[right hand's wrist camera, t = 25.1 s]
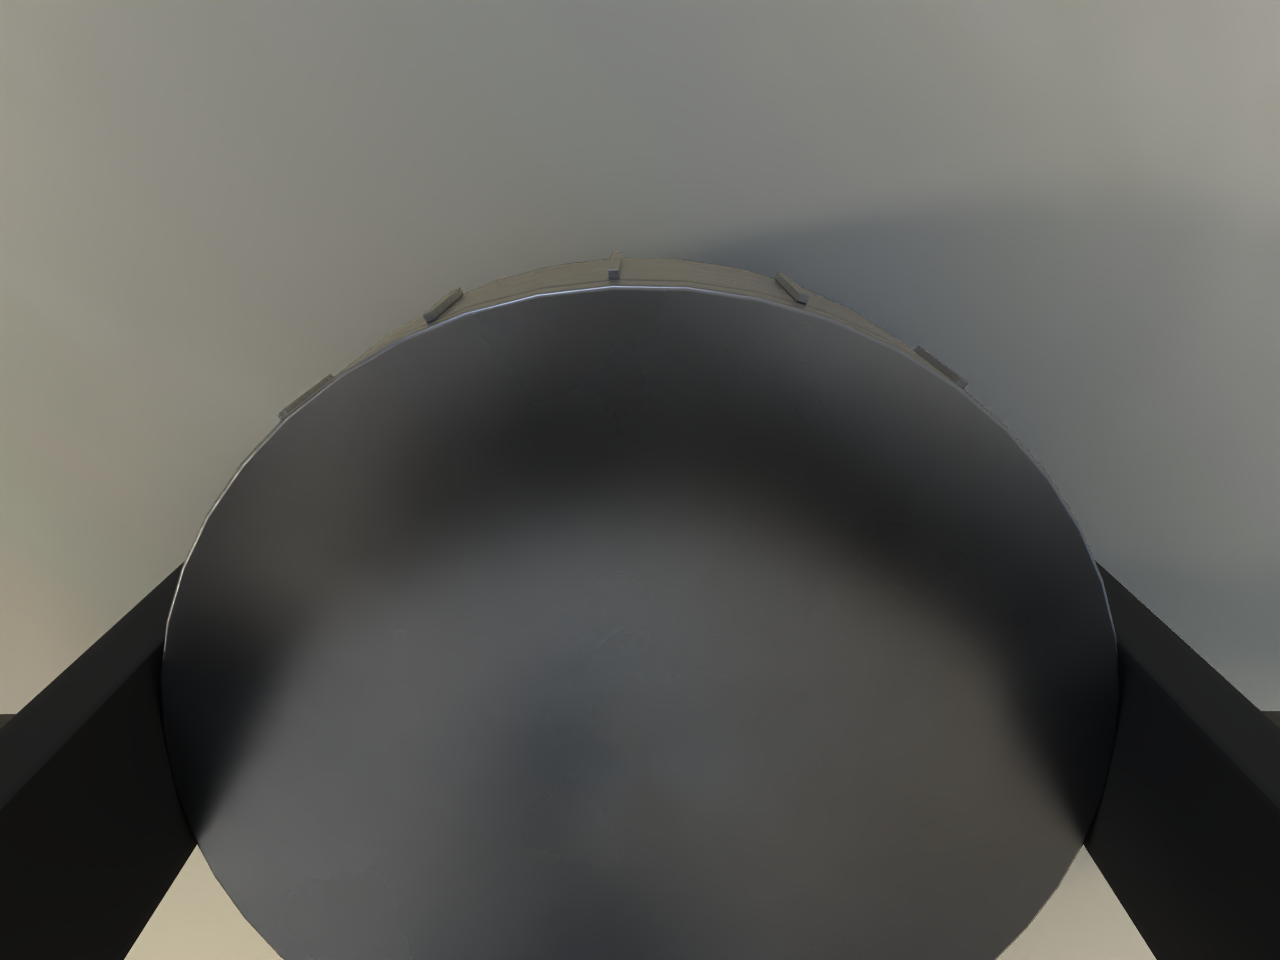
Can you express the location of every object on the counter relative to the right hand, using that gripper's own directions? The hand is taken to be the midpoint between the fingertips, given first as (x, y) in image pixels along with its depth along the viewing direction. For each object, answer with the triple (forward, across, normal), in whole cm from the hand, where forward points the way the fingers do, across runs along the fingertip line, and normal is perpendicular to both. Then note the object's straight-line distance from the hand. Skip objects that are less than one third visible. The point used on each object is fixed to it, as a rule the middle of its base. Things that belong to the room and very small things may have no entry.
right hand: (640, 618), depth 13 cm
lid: (-3, 0, 0) cm, 3 cm away
